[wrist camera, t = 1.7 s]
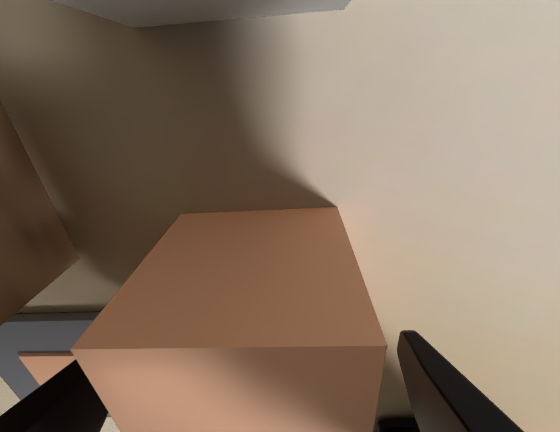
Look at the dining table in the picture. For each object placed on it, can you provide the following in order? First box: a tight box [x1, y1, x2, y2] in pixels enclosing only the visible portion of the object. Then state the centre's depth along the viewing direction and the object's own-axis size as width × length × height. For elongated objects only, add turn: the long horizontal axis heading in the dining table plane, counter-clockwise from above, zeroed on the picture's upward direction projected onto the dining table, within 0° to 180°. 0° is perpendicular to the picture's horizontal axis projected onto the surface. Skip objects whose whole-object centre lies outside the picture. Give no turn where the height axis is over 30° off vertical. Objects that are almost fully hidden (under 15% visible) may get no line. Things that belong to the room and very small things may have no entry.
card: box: [0, 312, 111, 417], centre depth 15 cm, size 8×8×1 cm
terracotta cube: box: [70, 207, 387, 432], centre depth 9 cm, size 6×6×6 cm
